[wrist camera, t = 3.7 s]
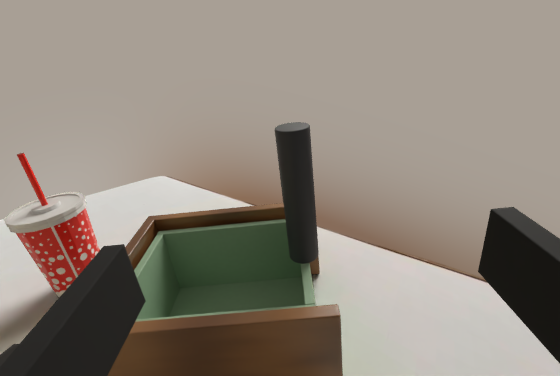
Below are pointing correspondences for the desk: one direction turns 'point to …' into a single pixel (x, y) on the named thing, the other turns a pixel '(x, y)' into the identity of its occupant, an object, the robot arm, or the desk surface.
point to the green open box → (240, 252)
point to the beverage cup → (55, 233)
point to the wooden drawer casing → (230, 323)
